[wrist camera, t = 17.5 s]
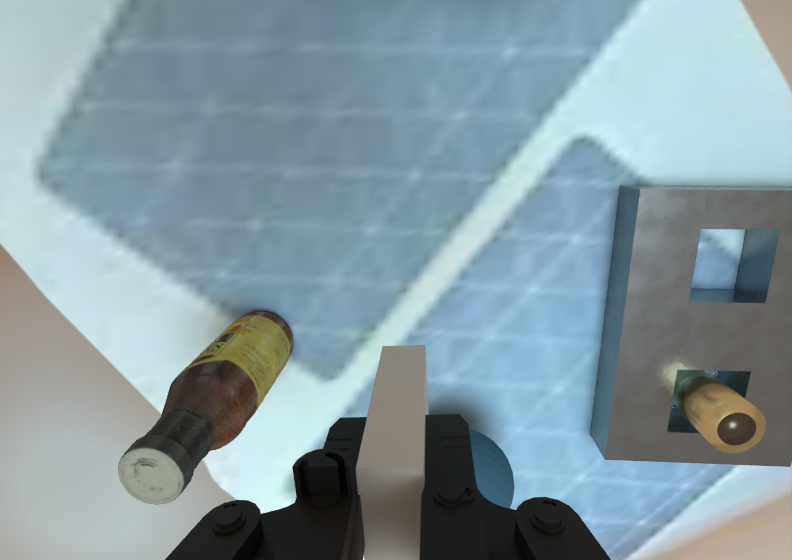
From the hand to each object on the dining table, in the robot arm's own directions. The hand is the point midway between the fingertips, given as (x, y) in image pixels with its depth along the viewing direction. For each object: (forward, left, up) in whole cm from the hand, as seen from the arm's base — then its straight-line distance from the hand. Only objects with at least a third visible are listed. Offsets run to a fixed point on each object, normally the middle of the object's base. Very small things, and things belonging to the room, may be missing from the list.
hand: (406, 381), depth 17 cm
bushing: (+13, +25, -27) cm, 39 cm away
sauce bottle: (+10, -15, -28) cm, 33 cm away
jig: (+7, +25, -27) cm, 38 cm away
